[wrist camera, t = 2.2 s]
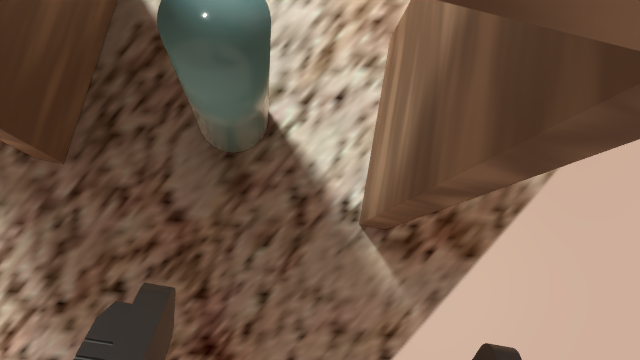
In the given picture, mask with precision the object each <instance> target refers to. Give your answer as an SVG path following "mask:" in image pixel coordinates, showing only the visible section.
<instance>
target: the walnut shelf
mask: <svg viewBox="0 0 640 360" xmlns="http://www.w3.org/2000/svg"><path fill="white" fill-rule="evenodd" d="M116 3H117V0H0V140H1V141H3V142H4V143H6V144H8V145H10V146H12V147H14V148H16V149H18V150H20V151H22V152H24V153H26V154H28V155H30V156H32V157H34V158H38V159H43V160H48V161H52V162H57V163H62V164H64V161H65V158H66V155H67V152H68V149H69V146H70V143H71V140H72V137H73V134H74V131H75V128H76V125H77V122H78V119H79V116H80V113H81V110H82V107H83V103H84V100H85V97H86V94H87V91H88V88H89V85H90V82H91V79H92V76H93V73H94V70H95V67H96V64H97V61H98V58H99V55H100V52H101V49H102V46H103V42H104V39H105V36H106V33H107V30H108V27H109V24H110V21H111V18H112V15H113V12H114V9H115V6H116ZM638 139H640V0H411V1H410V3H409V5H408V7H407V9H406V10H405V12H404V14H403V16H402V18H401V20H400V21H399V23H398V25H397V27H396V29H395V31H394V33H393V34H392V36H391V38H390V44H389V50H388V56H387V62H386V68H385V74H384V80H383V86H382V92H381V98H380V104H379V110H378V116H377V122H376V128H375V134H374V140H373V145H372V151H371V157H370V163H369V169H368V175H367V181H366V187H365V193H364V199H363V205H362V211H361V217H360V223H359V224H360V225H365V226H369V227H374V228H379V229H384V230H385V229H388V228H390V227H393V226H396V225H399V224H402V223H405V222H407V221H410V220H413V219H416V218H419V217H421V216H424V215H427V214H430V213H433V212H436V211H438V210H441V209H444V208H447V207H450V206H452V205H455V204H458V203H461V202H464V201H466V200H469V199H472V198H475V197H478V196H481V195H483V194H486V193H489V192H492V191H495V190H497V189H500V188H503V187H506V186H509V185H512V184H514V183H517V182H520V181H523V180H526V179H528V178H531V177H534V176H537V175H540V174H543V173H545V172H548V171H551V170H554V169H557V168H559V167H562V166H565V165H568V164H571V163H573V162H576V161H579V160H582V159H585V158H587V157H590V156H593V155H596V154H599V153H602V152H604V151H607V150H610V149H613V148H616V147H618V146H621V145H624V144H627V143H630V142H632V141H635V140H638Z"/></svg>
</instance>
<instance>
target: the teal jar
mask: <svg viewBox="0 0 640 360" xmlns="http://www.w3.org/2000/svg"><path fill="white" fill-rule="evenodd" d="M157 25H158V30H159V34H160V37H161V39H162V42H163V44H164V46H165V49H166V51H167V53H168V55H169V58H170V60H171V62H172V65H173V67H174V69H175V72H176V74H177V76H178V79H179V81H180V83H181V85H182V88H183V90H184V92H185V95H186V97H187V99H188V102H189V104H190V106H191V109H192V111H193V113H194V115H195V118H196V120H197V122H198V125H199V127H200V129H201V132H202V134H203V136H204V137H205V139H206V140H207V141H208V142H209V143H210V144H211V145H212V146H214V147H215V148H217V149H219V150H222V151H225V152H242V151H245V150H248V149H250V148H252V147H253V146H255V145H256V144H257V143H258V142H259V141H260V140H261V139H262V138H263V136H264V134H265V132H266V129H267V124H268V99H269V68H270V37H271V17H270V11H269V8H268V5H267V3H266V1H265V0H161V3H160V6H159V9H158V14H157Z"/></svg>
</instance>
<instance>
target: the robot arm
mask: <svg viewBox="0 0 640 360" xmlns="http://www.w3.org/2000/svg"><path fill="white" fill-rule="evenodd" d="M174 309H175V288H172V287H166V286H160V285H155V284H149V283H144V284H143V285H142V286H141V288H140V290H139V292H138V294H137V296H136V298H135V300H134V302H133V304H128V303H123V302H117V301H115V302H114V303H113V304H112V305H111V306H110V307H108V308H107V309H106V310H105V311H104V312H103V313H101V314H100V315H99V316H98V317H97V318H96V320H95V322H94V323H93V325H92V327H91V329H90V331H89V332H88V334H87V336H86V338H85V341H84V342H83V343H82V345H81V347H80V348H79V350H78V352H77V354H76V357H75V359H73V360H165V357H166V354H167V352H168V349H169V345H170V342H171V338H172V333H173V326H174ZM472 360H522V359H521V357H520V355H519V353H518V351H517V350H516V349H514V348H510V347H504V346H499V345H493V344H487V343H485V344H483V345H482V346H481V347H480V349H479V350H478V352H477V353H476V355H475V357H474V358H473V359H472Z"/></svg>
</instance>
